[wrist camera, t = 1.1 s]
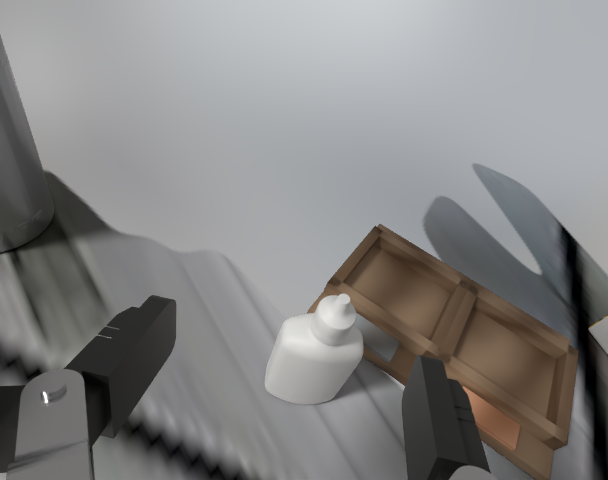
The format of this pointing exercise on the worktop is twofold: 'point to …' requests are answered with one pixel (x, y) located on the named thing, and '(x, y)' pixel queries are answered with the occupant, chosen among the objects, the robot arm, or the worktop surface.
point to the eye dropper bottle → (315, 353)
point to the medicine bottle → (601, 332)
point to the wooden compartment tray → (463, 344)
